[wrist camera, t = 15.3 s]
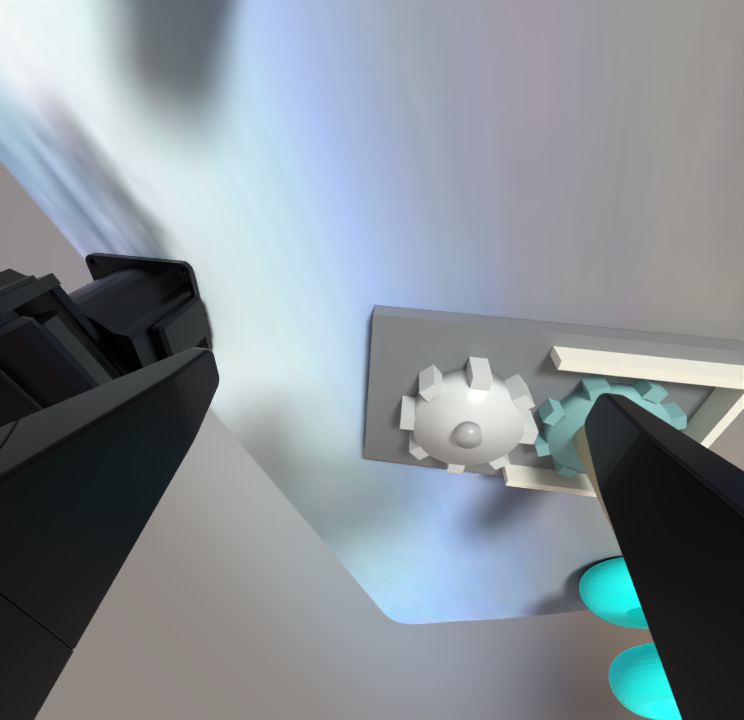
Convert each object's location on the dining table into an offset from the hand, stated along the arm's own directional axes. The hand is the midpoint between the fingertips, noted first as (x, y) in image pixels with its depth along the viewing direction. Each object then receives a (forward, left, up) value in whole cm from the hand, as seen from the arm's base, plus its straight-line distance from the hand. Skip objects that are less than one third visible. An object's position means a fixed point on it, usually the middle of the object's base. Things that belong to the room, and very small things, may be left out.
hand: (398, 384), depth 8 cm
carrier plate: (+9, -11, -13) cm, 19 cm away
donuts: (+26, -32, -13) cm, 43 cm away
